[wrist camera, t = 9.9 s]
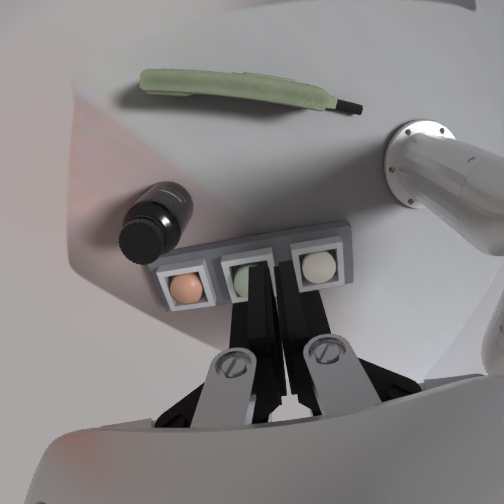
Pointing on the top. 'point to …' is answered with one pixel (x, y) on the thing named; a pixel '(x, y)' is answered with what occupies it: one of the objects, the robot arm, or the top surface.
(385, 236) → the top surface
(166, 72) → the handheld radio
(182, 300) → the terracotta button
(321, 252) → the cream button
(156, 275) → the button panel
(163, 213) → the supplement bottle
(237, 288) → the sage button
